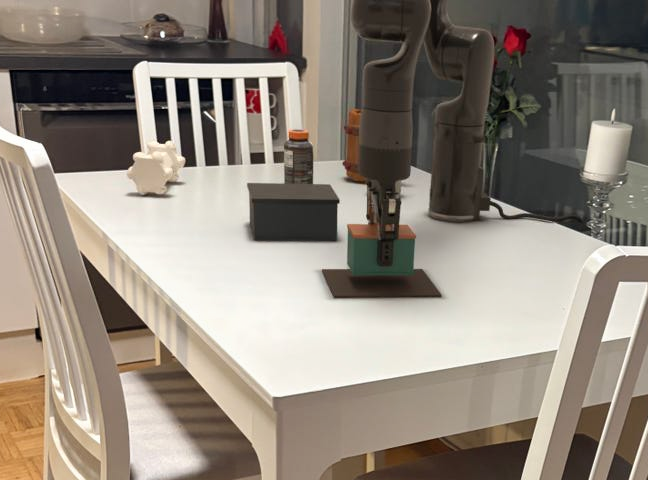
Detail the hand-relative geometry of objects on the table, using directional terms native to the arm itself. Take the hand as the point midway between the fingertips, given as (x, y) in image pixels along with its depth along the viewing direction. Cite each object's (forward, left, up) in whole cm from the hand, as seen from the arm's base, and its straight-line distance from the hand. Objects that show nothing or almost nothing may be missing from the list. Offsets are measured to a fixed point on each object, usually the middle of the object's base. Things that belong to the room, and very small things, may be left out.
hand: (380, 258), depth 145 cm
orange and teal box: (0, 0, -2) cm, 2 cm away
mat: (0, 0, -4) cm, 4 cm away
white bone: (+33, -62, -4) cm, 70 cm away
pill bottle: (+5, -65, -4) cm, 65 cm away
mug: (-12, -72, -4) cm, 73 cm away
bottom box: (+10, -30, -4) cm, 32 cm away
